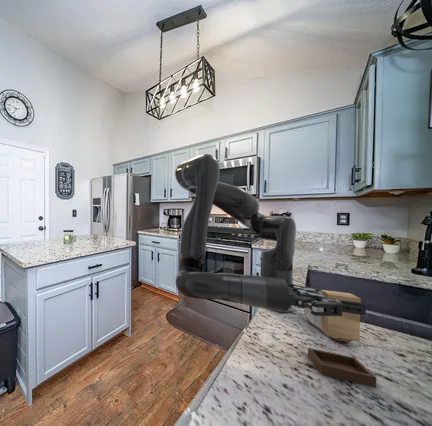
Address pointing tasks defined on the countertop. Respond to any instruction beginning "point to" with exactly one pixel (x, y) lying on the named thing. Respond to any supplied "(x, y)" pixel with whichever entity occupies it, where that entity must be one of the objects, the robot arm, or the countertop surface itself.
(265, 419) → the countertop surface
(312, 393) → the countertop surface
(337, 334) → the block
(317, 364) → the frame
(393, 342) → the countertop surface
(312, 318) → the tin
